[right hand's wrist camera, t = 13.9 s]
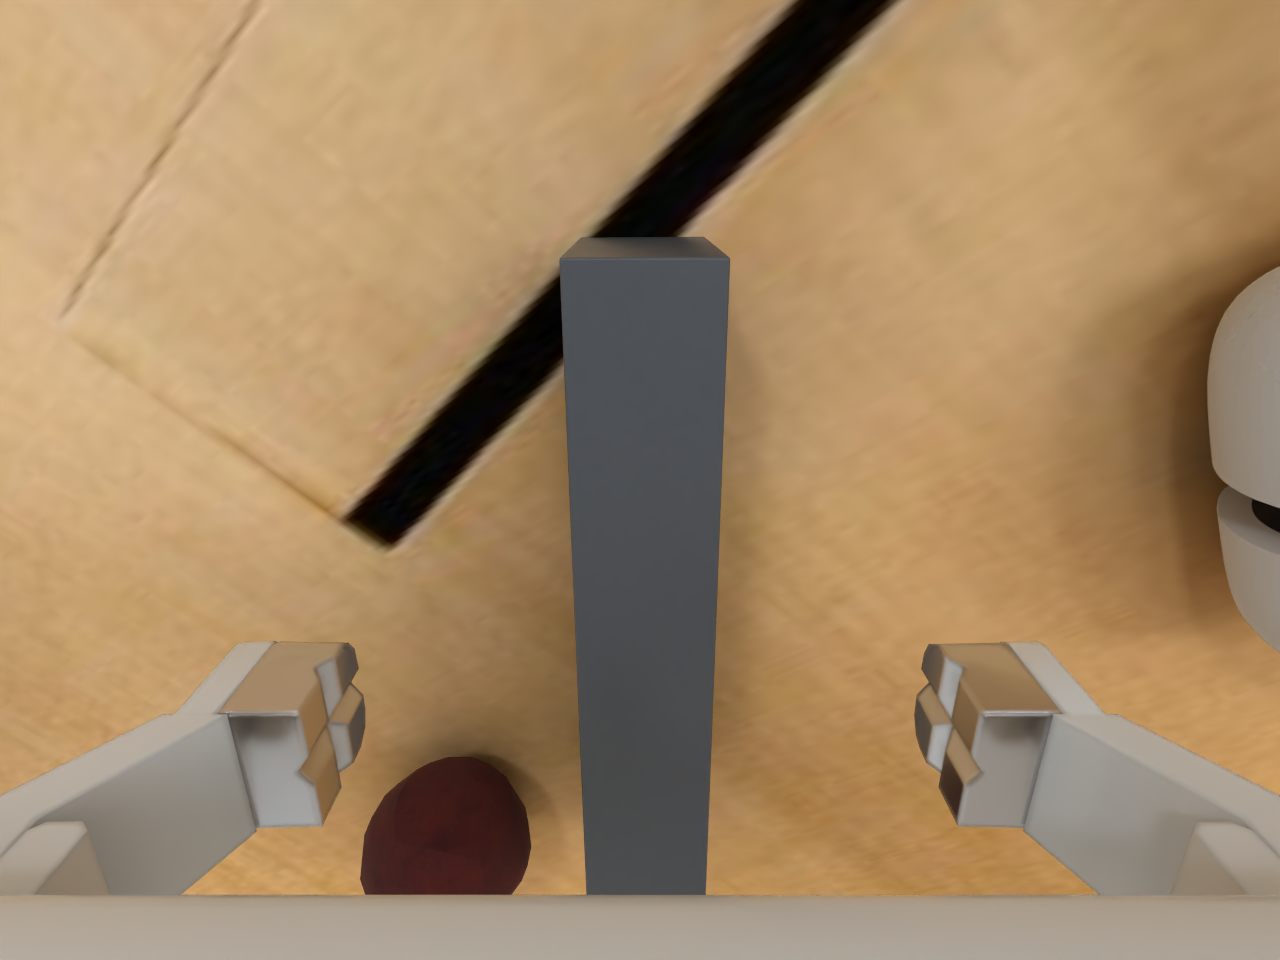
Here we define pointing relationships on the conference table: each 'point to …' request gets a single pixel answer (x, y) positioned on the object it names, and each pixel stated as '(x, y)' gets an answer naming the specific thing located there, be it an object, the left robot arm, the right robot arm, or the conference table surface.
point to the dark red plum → (447, 834)
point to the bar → (645, 547)
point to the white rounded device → (1249, 450)
